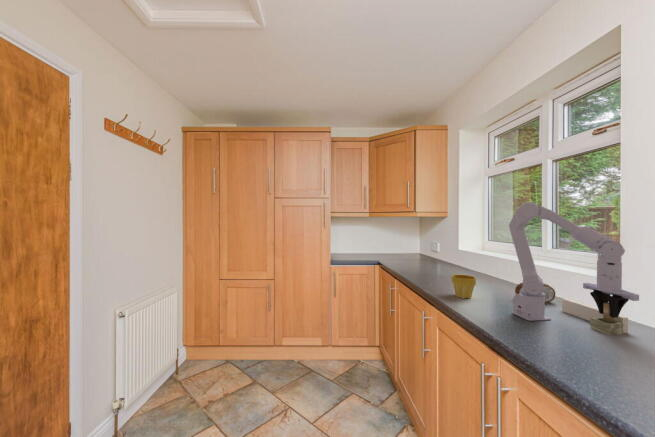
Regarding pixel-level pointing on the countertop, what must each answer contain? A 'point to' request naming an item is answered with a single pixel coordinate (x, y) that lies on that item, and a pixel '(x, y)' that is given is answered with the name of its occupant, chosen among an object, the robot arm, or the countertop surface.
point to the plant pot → (463, 285)
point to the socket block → (606, 326)
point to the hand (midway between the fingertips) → (608, 315)
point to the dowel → (607, 313)
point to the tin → (547, 291)
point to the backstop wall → (588, 312)
